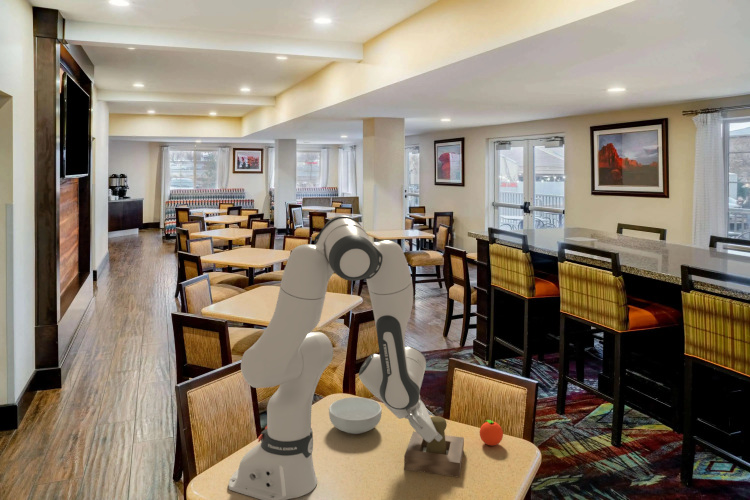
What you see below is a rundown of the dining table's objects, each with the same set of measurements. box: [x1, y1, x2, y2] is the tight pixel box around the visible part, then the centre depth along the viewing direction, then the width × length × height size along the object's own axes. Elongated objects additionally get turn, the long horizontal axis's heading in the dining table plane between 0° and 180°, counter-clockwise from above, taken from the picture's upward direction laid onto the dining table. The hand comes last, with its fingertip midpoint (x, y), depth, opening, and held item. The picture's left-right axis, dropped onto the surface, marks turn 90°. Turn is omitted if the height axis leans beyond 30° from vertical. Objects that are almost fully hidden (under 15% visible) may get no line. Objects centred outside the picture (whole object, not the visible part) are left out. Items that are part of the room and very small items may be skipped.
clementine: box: [479, 419, 504, 447], centre depth 164 cm, size 8×7×7 cm
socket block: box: [403, 430, 465, 478], centre depth 154 cm, size 15×15×4 cm
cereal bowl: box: [328, 396, 383, 435], centre depth 172 cm, size 17×17×7 cm
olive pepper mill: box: [426, 415, 447, 455], centre depth 153 cm, size 6×6×11 cm
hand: (438, 434), depth 153 cm, fingers closed on olive pepper mill, 4 cm apart
